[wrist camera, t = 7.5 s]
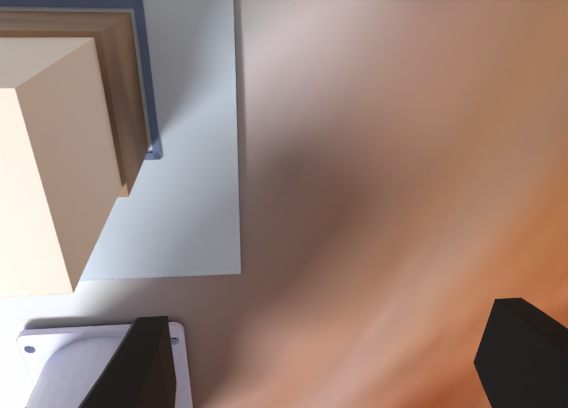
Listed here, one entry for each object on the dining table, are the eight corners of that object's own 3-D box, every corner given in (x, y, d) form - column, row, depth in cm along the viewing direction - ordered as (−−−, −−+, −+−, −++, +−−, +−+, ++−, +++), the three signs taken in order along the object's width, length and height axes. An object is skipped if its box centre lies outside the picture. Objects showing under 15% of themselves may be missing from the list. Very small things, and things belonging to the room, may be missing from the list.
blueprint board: (240, 268, 22) (241, 275, 21) (-22, 279, 20) (-28, 286, 20) (227, -234, 13) (226, -240, 12) (-242, -268, 11) (-260, -276, 11)
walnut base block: (148, 148, 18) (128, 196, 14) (16, 150, 17) (-39, 201, 14) (130, 12, 15) (100, 31, 12) (-25, 10, 15) (-104, 28, 11)
